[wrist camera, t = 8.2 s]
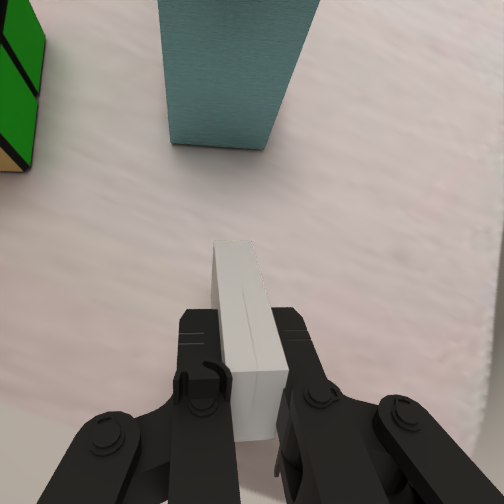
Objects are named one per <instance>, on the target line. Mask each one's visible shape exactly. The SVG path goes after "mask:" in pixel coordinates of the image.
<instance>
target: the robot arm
mask: <svg viewBox="0 0 504 504" xmlns="http://www.w3.org/2000/svg"><path fill="white" fill-rule="evenodd" d="M211 307H212V309H187V310H186V311H185V313H184V314H183V316H182V317H181V319H180V321H179V338H178V355H177V371H176V373H175V376H174V379H173V394H172V396H171V398H170V399H169V400H168V401H167V402H166V403H165V404H164V405H163V406H161V407H160V408H159V409H157V410H155V411H152V412H150V413H148V414H145V415H142V416H139V417H136V418H133V417H132V416H131V415H129V414H127V413H124V412H121V411H113V412H106V413H103V414H100V415H97V416H95V417H94V418H92V419H91V420H89V421H88V422H86V423H85V424H84V425H83V426H82V428H81V429H80V430H79V431H78V433H77V434H76V436H75V437H74V439H73V441H72V443H71V444H70V446H69V448H68V449H67V451H66V453H65V455H64V456H63V458H62V460H61V462H60V464H59V465H58V467H57V469H56V470H55V472H54V474H53V476H52V477H51V479H50V481H49V483H48V485H47V486H46V488H45V490H44V491H43V493H42V495H41V497H40V498H39V500H38V502H37V504H160V503H163V502H165V501H166V500H168V504H241V501H240V491H239V481H238V472H237V462H236V452H235V442H244V441H258V440H271V439H274V437H275V433H276V428H277V432H278V437H279V441H280V446H279V451H278V455H277V459H276V464H275V469H274V477H279V473H280V472H281V477H282V482H283V487H284V492H285V497H286V502H287V504H504V496H503V495H502V494H501V492H500V491H499V490H498V489H497V488H496V487H495V486H494V485H493V484H492V483H491V481H490V480H489V479H488V478H487V477H486V476H485V475H484V474H483V473H482V471H481V470H480V469H479V468H478V467H477V466H476V465H475V464H474V462H473V461H472V460H471V459H470V458H469V457H468V456H467V455H466V454H465V452H464V451H463V450H462V449H461V448H460V447H459V446H458V445H457V444H456V442H455V441H454V440H453V439H452V438H451V437H450V436H449V435H448V434H447V432H446V431H445V430H444V429H443V428H442V427H441V426H440V425H439V424H438V422H437V421H436V420H435V419H434V418H433V417H432V416H431V415H430V414H429V412H428V411H427V410H426V409H425V408H423V407H422V406H421V405H420V404H419V403H418V402H416V401H414V400H412V399H410V398H408V397H405V396H401V395H397V394H396V395H387V396H386V397H384V398H383V399H381V401H380V403H379V405H376V404H371V403H367V402H363V401H359V400H355V399H352V398H349V397H347V396H345V395H343V394H342V392H341V391H340V389H339V388H338V387H337V386H336V385H335V384H334V383H332V382H331V381H330V380H328V379H327V377H326V375H325V373H324V370H323V368H322V365H321V363H320V360H319V358H318V355H317V353H316V350H315V348H314V345H313V343H312V341H311V338H310V335H309V333H308V331H307V328H306V325H305V322H304V320H303V317H302V316H301V315H300V314H299V313H298V312H297V311H296V310H295V309H294V308H293V307H276V308H271V307H270V303H269V300H268V296H267V293H266V289H265V286H264V283H263V279H262V276H261V272H260V269H259V265H258V262H257V258H256V255H255V252H254V248H253V245H252V241H227V240H214V246H213V265H212V284H211Z"/></svg>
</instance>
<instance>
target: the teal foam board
mask: <svg viewBox="0 0 504 504" xmlns="http://www.w3.org/2000/svg"><path fill="white" fill-rule="evenodd" d="M319 2H320V0H158V10H159V21H160V32H161V43H162V54H163V65H164V76H165V87H166V98H167V109H168V120H169V131H170V142H171V143H178V144H192V145H205V146H219V147H233V148H246V149H260V150H264V148H265V146H266V143H267V140H268V138H269V135H270V132H271V130H272V127H273V124H274V122H275V119H276V116H277V114H278V111H279V108H280V106H281V103H282V100H283V98H284V95H285V92H286V90H287V87H288V84H289V82H290V79H291V76H292V74H293V71H294V68H295V66H296V63H297V60H298V58H299V55H300V52H301V50H302V47H303V44H304V42H305V39H306V36H307V34H308V31H309V28H310V26H311V23H312V20H313V18H314V15H315V12H316V10H317V7H318V4H319Z"/></svg>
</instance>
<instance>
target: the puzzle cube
mask: <svg viewBox="0 0 504 504" xmlns="http://www.w3.org/2000/svg"><path fill="white" fill-rule="evenodd" d="M44 44H45V34H44V32H43V30H42V28H41V26H40V23H39V21H38V19H37V17H36V15H35V13H34V10H33V8H32V6H31V4H30V2H29V0H0V171H17V172H24V171H25V170H27V169H28V168H29V167H30V165H31V156H32V148H33V139H34V131H35V122H36V114H37V105H38V102H37V100H36V99H35V96H36V95H38V94H39V86H40V78H41V69H42V61H43V52H44Z"/></svg>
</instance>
